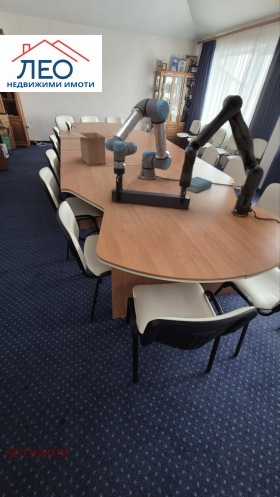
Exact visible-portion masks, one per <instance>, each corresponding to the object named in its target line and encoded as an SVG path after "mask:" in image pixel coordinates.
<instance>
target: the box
mask: <svg viewBox="0 0 280 497" xmlns="http://www.w3.org/2000/svg"><path fill="white" fill-rule="evenodd" d="M70 133H71V134H72V135H74V136H75V137H77V138H79V144H80V153H81V160H83V162H85V163H86V165H87V166H95V165H97V166H98V165H106V163H107V162H106V158H107V157H106V146H105V143H106V138H113V137H114V136H113V135H111V134H109V133H108V132H105V131H98V132H96V131H95V130H92V129H91V130H77V132H76V131H70Z"/></svg>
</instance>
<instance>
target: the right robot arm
mask: <svg viewBox="0 0 280 497" xmlns="http://www.w3.org/2000/svg"><path fill="white" fill-rule="evenodd" d="M243 102H244V100H243V98H242V96H240V94H234V93H233V94H232V93H231V94H228V95H227V96H226V97H225V98H224V99H223V101H222V108H221V110H220V111H219V112H218V113H217V115H216V116H215V117H214V118H213V119H212V120H211V121H210V122H209V123H208V124H206V126H204V127H203V129H201V131H200V132H199V133H198V134H197V136H196V137H195V138H194V139H193V140H192V141H191V142H190V143H189V144H187V146H186V147H185V149H184V159H183V164H182V166H181V173H180V177H179V180H180V181H178V182H179V183H178V186H179V187H180V192H179V193H180V194H179V195H181V201H180V205H183V203H184V200H185V196H187V192H188V190H187V188H188V187H190V184H191V179H192V178H193V173H194V172H193V171H194V166H195V163H196V160H197V154H198V151H200V150H201V148H203V147H204V146H206V145H207V144H208V142H209V141H210V140H212V138H213V137H214V136H215V135H216V133H217V132H218V131H219V130H220V129H221V128H222V127H223V126H224V125H225V124H226V123H227V122H228V123H229V126H230V130H231V134H232V138H233V141H234V144H235V147H236V150H237V152H238V155H239V157H240V159H241V162H242V166H243V171H244V175H245V177H246V178H245V181H244V183H243V184H241V187H240V189H239V192H238V195H237V199H236V201H235V204H234V207H233V209H232V214H233V215H235V216H237V217H248V215H249V213H253V214H254V217H255V218H256V219H258V220H269V221H275V222H277V223H278V224H280V220H278V219H276V218H269V217H265V218H264V217H258V216H257V213H256V211H255V210H254V209H253V207H252V204H253V203H252V202H253V199H254V197H255V194H256V191H257V189H259V187H260V185H261V182H262V180H263V178H264V174H265V171H264V168H263V167H261V166H260V165H259V163H258V161H257V158H256V155H255V144H254V139H253V136H252V132H251V130H250V128H249V126H248V124H247V123H246V121H245V119H244V117H243V113H242V107H243V105H244V104H243ZM182 197H184V198H182Z"/></svg>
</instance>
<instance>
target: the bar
mask: <svg viewBox="0 0 280 497" xmlns="http://www.w3.org/2000/svg"><path fill="white" fill-rule="evenodd" d="M110 192H111V202H115V203H118V202H117V193H115V192H116V188H112V190H111V191H110ZM120 193H121V202H120V203H124V204H135V205H145V206H155V207H163V208H164V207H165V208H175V209H186V210H189V207H190V202H191V195H186V196H185V200H184V203H183V205H180V201H181V194H174V193H163V192H154V191H144V190H133V189H124V188H123V189H120ZM182 198H184V197H182Z"/></svg>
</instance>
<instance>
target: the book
mask: <svg viewBox="0 0 280 497" xmlns="http://www.w3.org/2000/svg"><path fill="white" fill-rule="evenodd" d="M212 183H213V182H212V180H209V179H206V178H202V177H199V176H195V177H192V179H191V184H190V187H188V188H187V191H190V192H192V193H195V194H197V193H200V192H201V191H203V190H206V189H209V188H211V187H212V185H213V184H212Z"/></svg>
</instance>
